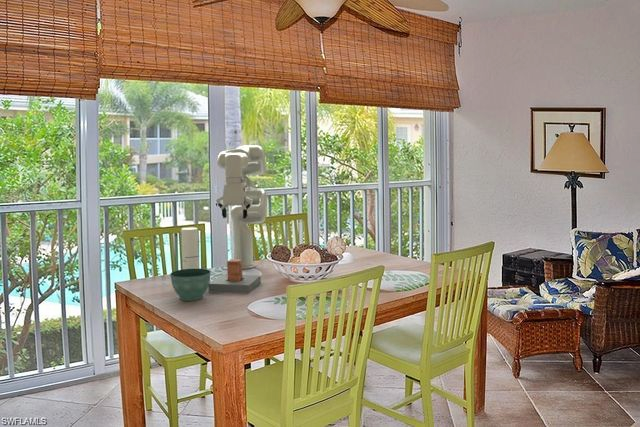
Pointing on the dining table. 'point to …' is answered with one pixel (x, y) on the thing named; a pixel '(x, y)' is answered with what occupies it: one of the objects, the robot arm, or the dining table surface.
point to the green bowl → (190, 283)
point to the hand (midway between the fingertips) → (234, 217)
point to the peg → (234, 270)
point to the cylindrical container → (190, 248)
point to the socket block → (234, 284)
